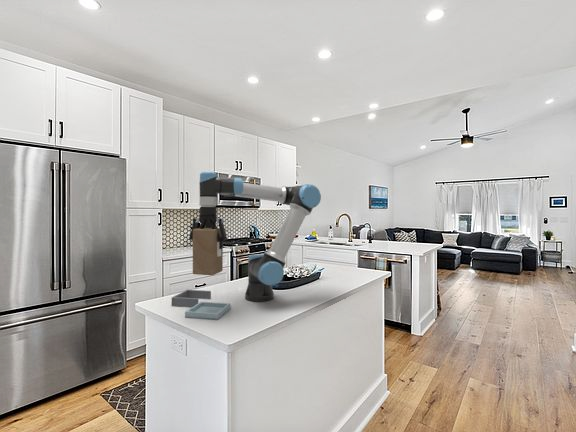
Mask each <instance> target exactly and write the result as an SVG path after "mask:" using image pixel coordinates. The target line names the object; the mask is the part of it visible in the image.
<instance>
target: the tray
mask: <svg viewBox="0 0 576 432" xmlns="http://www.w3.org/2000/svg"><path fill="white" fill-rule="evenodd" d="M231 305H232V304H231V303H228V302H213V301H211V302H210V301H200V302H199V301H198V304H196V305H195V306H193V307H189V309H187V310H186V311H185V312H184V318H186V319H187V318H188V319H201V320H211V321H212V320H215V321H218V320H219V319H221V317H223V316H224V315H225V314H226V313H227V312H228V311H230V310H231V307H232V306H231Z"/></svg>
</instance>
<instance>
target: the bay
mask: <svg viewBox="0 0 576 432" xmlns="http://www.w3.org/2000/svg"><path fill="white" fill-rule="evenodd" d="M199 299H204V300H211V299H212V291H211V290H199V289H185V290H184V291H182V292H180V293H178V294H175V295H174V296H172V297H171V307H182V308H183V307H185V308H192V307H193V306H195V305H196V304H198V303H199Z"/></svg>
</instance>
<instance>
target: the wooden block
mask: <svg viewBox="0 0 576 432" xmlns="http://www.w3.org/2000/svg"><path fill="white" fill-rule="evenodd" d="M217 228H218V229H212V228H211V227H205V228H203V229H199V228H197V229H193V240H192V275H198V276H215V275H216V274H220V273H221V272H223V269H224V267H223V263H224V262H223V261H224V260H223V259H224V258H223V256H224V255H223V252H224V249H221V256H219V257H217V242H218V241H219V240H218V239H217V233H219V232H220V228H219V227H217ZM220 234H221V232H220ZM221 236H222V235H221Z"/></svg>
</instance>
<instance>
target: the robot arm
mask: <svg viewBox="0 0 576 432" xmlns="http://www.w3.org/2000/svg"><path fill="white" fill-rule="evenodd" d="M198 183H199V203H198V204H199V206H200V207H199V217H194V218H192V226H191V230H190V234H189V238H188V239H189V240H191V241H193V229H203V228H212V229H218V228H220V232H221V234H220V232H219V233H217V239H218V240H219V241H218V242H217V257H219V256H221V249H223V248H224V241H227V240H228V235H227V233H226V229H225V226H224V218H218V217H217V210H218V209H217V207H216V206H217V205H218V203H217V202H218V201H217V200H218V199H217V197H218V196H217V195H218V194H219V195H221V196H229V197H240V198H247V199H254V200H264V201H272V202H278V203H280V204H281V205H286V206H289V207H290V209H289V210H288V213H287V214H286V217H285V218H284V221H283V223H282V225H281V226H280V228H279V230H278V232H277V235H276V236H275V238H274V240H273V243H272V245H271V246H270V248H269V250H268V251H265V252H264V253H261V254H250V255H249V256H248V261H247V262H248V263H247V264H248V267H247V269H248V277H247V279H248V284H247V287H246V289H245V293H244V298H245V299H244V300H247V301H249V302H257V303H258V302H268V301H270V300H273V299H274V297H275V296H274V295H275V292H274V289H273V286H275V285H277V284H279V283H280V282H281V281H282V279H283V278H284V273H285V271H284V268H285V266H286V256H288V255H287V254H288V252H289V250H290V248H291V247H292V244H293V243H294V240H295V238H296V236H297V234H298V232H299V230H300V228H301V227H302V224H303V223H304V220H305V218H306V216H309V215H311V212H313V211H312V210H313V209H315V208H316V207H318V205H319V204H320V203H321V200H322V194H321V191H320V189H319V187H317V186H316V185H314V184H308V183H305V184H302V185H295V186H284V185H283V186H281V187H277V186H270V185H262V184H256V183H248V182H244V181H243V179H242V178H241V177H225V176H224V177H223V176H218V173H217V172H215V171H202V172H200V173H199V181H198ZM199 223H200V224H199ZM216 223H217V224H218V225H217V224H216ZM198 226H199V227H198ZM221 235H222V236H221ZM223 250H224V249H223Z"/></svg>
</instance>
